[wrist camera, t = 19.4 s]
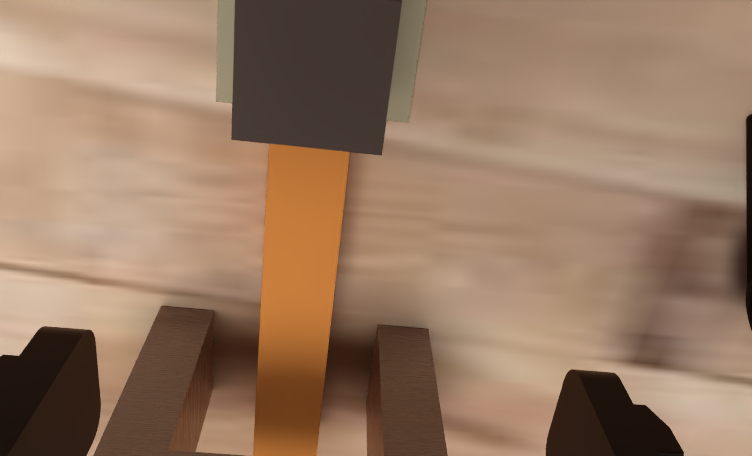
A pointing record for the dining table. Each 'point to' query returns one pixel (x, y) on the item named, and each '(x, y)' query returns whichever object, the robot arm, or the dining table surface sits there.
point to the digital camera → (749, 220)
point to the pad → (403, 61)
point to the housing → (195, 382)
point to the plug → (306, 180)
